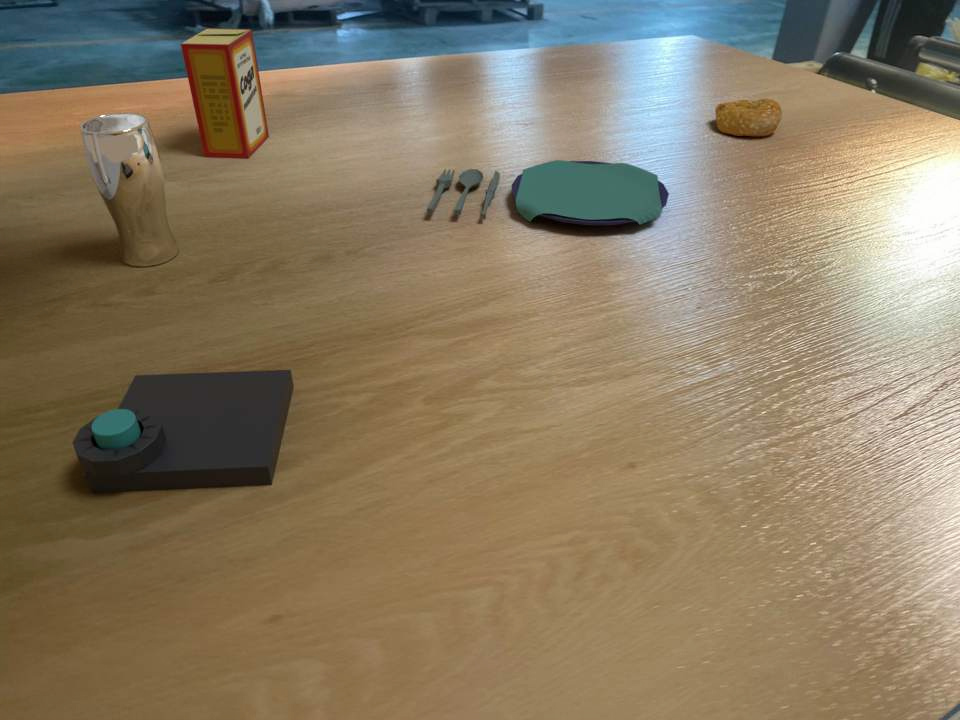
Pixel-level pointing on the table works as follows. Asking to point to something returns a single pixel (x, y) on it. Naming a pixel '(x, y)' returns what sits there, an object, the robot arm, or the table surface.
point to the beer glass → (130, 185)
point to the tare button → (115, 429)
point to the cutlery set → (573, 192)
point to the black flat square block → (194, 432)
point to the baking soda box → (226, 92)
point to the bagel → (748, 117)
